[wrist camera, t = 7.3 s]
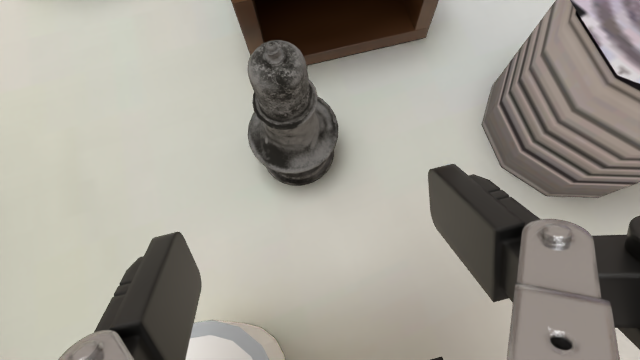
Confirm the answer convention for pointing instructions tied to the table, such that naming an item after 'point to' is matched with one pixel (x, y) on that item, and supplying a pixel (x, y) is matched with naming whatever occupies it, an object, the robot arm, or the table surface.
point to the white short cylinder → (231, 342)
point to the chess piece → (289, 116)
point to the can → (572, 101)
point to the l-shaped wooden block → (333, 24)
